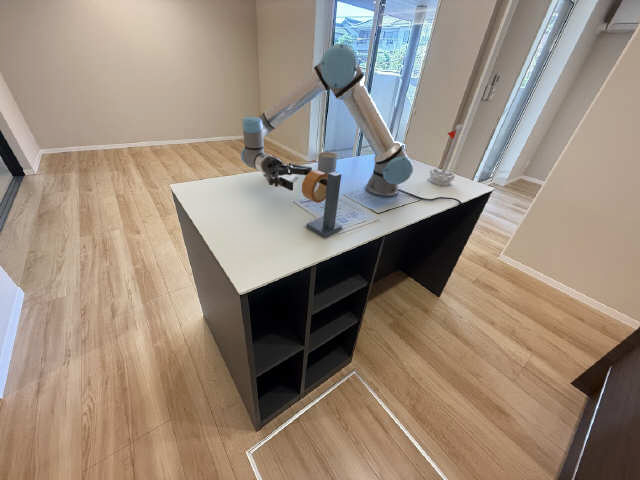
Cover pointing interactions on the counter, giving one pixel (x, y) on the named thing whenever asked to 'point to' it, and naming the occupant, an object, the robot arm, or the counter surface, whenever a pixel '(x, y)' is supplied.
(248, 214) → the counter surface
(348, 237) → the counter surface
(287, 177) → the hard drive
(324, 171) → the coffee mug
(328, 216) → the hook stand
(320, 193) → the tape roll
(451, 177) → the flag stand
